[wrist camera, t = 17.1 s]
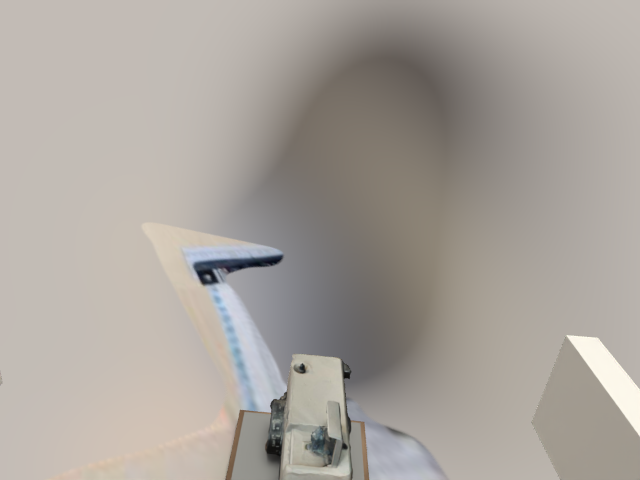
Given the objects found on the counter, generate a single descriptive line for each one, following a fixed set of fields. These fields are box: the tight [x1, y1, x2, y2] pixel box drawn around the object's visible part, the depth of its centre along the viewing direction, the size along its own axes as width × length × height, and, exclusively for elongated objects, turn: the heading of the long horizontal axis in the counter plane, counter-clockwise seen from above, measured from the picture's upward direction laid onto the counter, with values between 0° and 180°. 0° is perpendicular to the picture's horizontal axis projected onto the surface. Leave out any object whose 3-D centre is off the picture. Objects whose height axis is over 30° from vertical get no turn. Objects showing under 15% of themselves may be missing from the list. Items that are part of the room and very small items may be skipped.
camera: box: [265, 354, 353, 480], centre depth 46 cm, size 15×8×10 cm, turn 178°
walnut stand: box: [226, 410, 369, 480], centre depth 48 cm, size 13×13×2 cm
